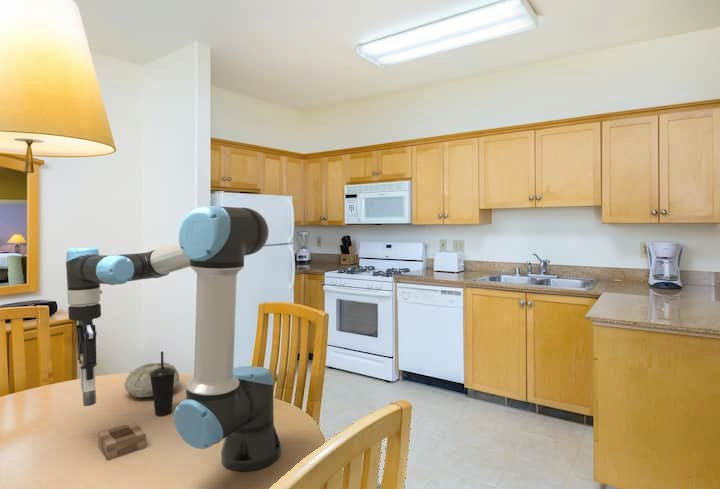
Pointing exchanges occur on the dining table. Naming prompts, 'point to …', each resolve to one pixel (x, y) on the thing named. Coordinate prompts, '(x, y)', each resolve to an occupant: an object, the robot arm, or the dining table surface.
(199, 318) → the robot arm
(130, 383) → the grey rounded lump
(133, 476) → the dining table surface
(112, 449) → the square wooden frame
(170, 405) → the drinking cup
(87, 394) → the metal cylinder
